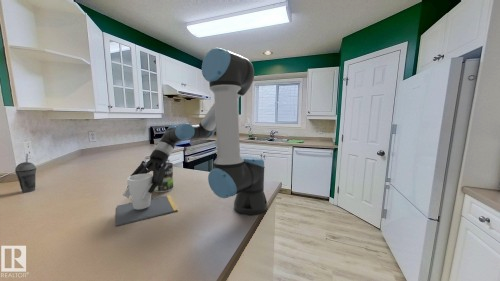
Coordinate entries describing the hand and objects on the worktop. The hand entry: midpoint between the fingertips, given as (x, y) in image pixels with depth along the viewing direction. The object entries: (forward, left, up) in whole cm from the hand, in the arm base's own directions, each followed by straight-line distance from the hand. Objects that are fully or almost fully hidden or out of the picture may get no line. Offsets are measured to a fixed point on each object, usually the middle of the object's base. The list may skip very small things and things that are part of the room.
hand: (134, 198), depth 78 cm
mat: (+2, -4, -7) cm, 8 cm away
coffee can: (+23, -14, -7) cm, 28 cm away
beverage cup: (+56, +47, -7) cm, 73 cm away
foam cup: (+2, -3, -5) cm, 6 cm away
